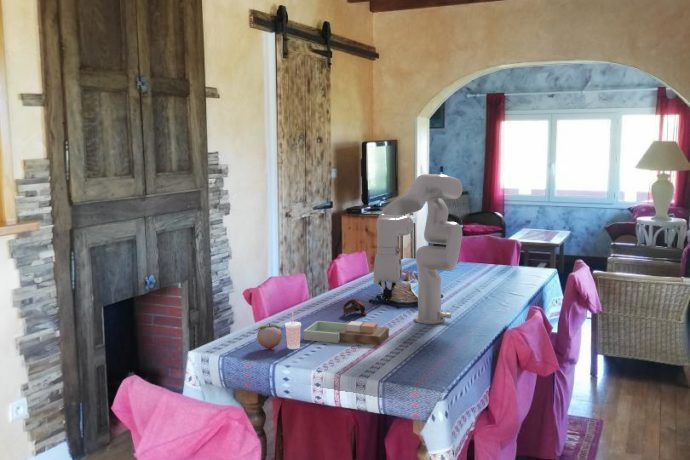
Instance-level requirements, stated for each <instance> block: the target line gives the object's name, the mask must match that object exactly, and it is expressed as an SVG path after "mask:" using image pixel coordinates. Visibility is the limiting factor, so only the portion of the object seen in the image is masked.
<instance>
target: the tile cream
mask: <svg viewBox="0 0 690 460" xmlns="http://www.w3.org/2000/svg"><path fill="white" fill-rule="evenodd" d="M347 323H348V324H347V331H354V332H360V331H361V325H362V324H363V323H365V322H364V321H355V320H354V321H353V320H351V321H350V322H347Z"/></svg>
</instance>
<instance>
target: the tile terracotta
mask: <svg viewBox="0 0 690 460" xmlns="http://www.w3.org/2000/svg"><path fill="white" fill-rule="evenodd" d="M377 327H378V323H377V322H367V321H366V322H364V323H363V324H362V325H361V332H366V333H374V332H375V331H376V330H377Z"/></svg>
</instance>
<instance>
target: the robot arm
mask: <svg viewBox="0 0 690 460" xmlns="http://www.w3.org/2000/svg"><path fill="white" fill-rule="evenodd" d="M463 189H464V187H463V183H462V181H461V180H460V179H459V178H457V177H454V176H449V175H446V174H434V173H431V174H430V173H429V174H428V173H426V174H420V175H419V176H418V175H417V177H416V179H414V181H413V183H412V184H411V185H410V186H409V189H408V190H407V191H406V192H405V194H404V195H403V196H401V197H397V199H395V200H393V201H391V202H390V203H388V204H387V205H386V206H384V207H383V209H382V210H381V212H380V214H379V215H378V217H377V220H376V222H375V227H376V230H377V232H376V233H377V234H376V235H377V237H376V238H377V245H376V246H377V253H376V254H375V257H374V265H373V283H374V284H377V285H379V286H380V287H381V289H382V295H383V298H384V301H390V300H391V299H392V298H393V289H394V288H395V286H399V285H402V283H403V282H402V279H403V267H402V266H403V265H402V260H401V259H402V258H401V254H399V253H402V248H400V247H399V245H398V244H399V243H398V241H399V240H398V239H399V238H398V237H399V236H403V237H404V236H408V235H410V234H411V233H412V232H413V230H414V227H415V223H414V221H413V219H412V218H411V217H410V216H407V215H410V214H413V213H416V212H419V211H421V210H422V209H423V207H424V206H425V205H426V203H427V209H428V210H427V217H426V221H425V226H424V232H423V237H424V240H425V241H426V243H430V244H437V245H446V246H435V245H422V246H420V247H419V248H417V250H416V252H415V262H416V268H417V310H418V311H417V315H416V316H414V319H413V320H414V321H415V322H416V323H419V324H424V325H436V324H437V325H438V324H441V323H444V322H445V321H446V319H452V313H450V312H444V308H442V278H441V275H440V273H439V271H444V272H445V271H447V272H448V271H449V272H452V271H454V269H456V268H457V264H458V262H459V259H460V258H459V256H460V251H461V246H462V240H463V229H462V226H461V225H460V224H459V223H458V222H455V221H448V217H449V213H450V212H449V208H448V206H447V204H446V202H445V201H444V199H445V200H448V199H449V200H457V199H459V198H460V197H461V196H462V193H463Z"/></svg>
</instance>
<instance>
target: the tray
mask: <svg viewBox="0 0 690 460" xmlns="http://www.w3.org/2000/svg"><path fill="white" fill-rule="evenodd" d="M348 323H349V322H338V321H337V322H334V321H325V320H316V321H314V322H313V323H312V324H311V325H309V326H307V328H305V329H303V330H302V331H303V340H304V341H313V342H315V341H316V342H325V343H327V342H328V343H335V344H339V343H340V342H339V333H340V332H341V331H342V330H344V329H345V328H346V327H347V324H348Z"/></svg>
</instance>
